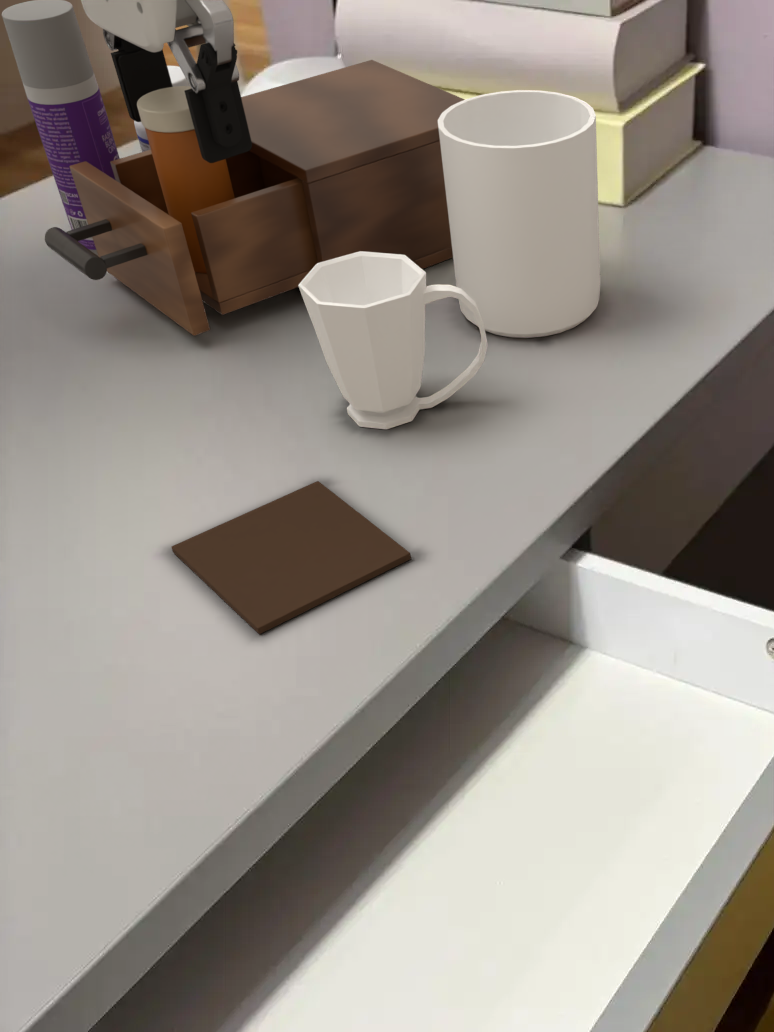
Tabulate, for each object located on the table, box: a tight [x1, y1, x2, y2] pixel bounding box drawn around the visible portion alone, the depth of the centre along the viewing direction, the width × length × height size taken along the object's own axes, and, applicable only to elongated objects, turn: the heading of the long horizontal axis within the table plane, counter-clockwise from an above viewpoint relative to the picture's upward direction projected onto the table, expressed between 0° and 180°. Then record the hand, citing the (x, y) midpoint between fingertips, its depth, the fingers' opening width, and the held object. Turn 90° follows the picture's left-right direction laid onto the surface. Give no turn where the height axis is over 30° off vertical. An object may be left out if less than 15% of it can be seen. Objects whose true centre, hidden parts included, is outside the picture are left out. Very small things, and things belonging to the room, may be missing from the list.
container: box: [1, 0, 120, 256], centre depth 86 cm, size 5×5×15 cm
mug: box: [438, 89, 601, 339], centre depth 79 cm, size 10×12×12 cm
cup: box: [298, 251, 488, 430], centre depth 71 cm, size 7×10×8 cm
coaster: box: [170, 480, 412, 635], centre depth 65 cm, size 9×9×1 cm
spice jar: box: [137, 86, 235, 273], centre depth 81 cm, size 5×5×10 cm
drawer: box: [44, 150, 318, 337], centre depth 82 cm, size 18×13×7 cm
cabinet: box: [241, 59, 465, 270], centre depth 87 cm, size 15×15×9 cm
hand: (190, 135), depth 79 cm, fingers open, 9 cm apart
